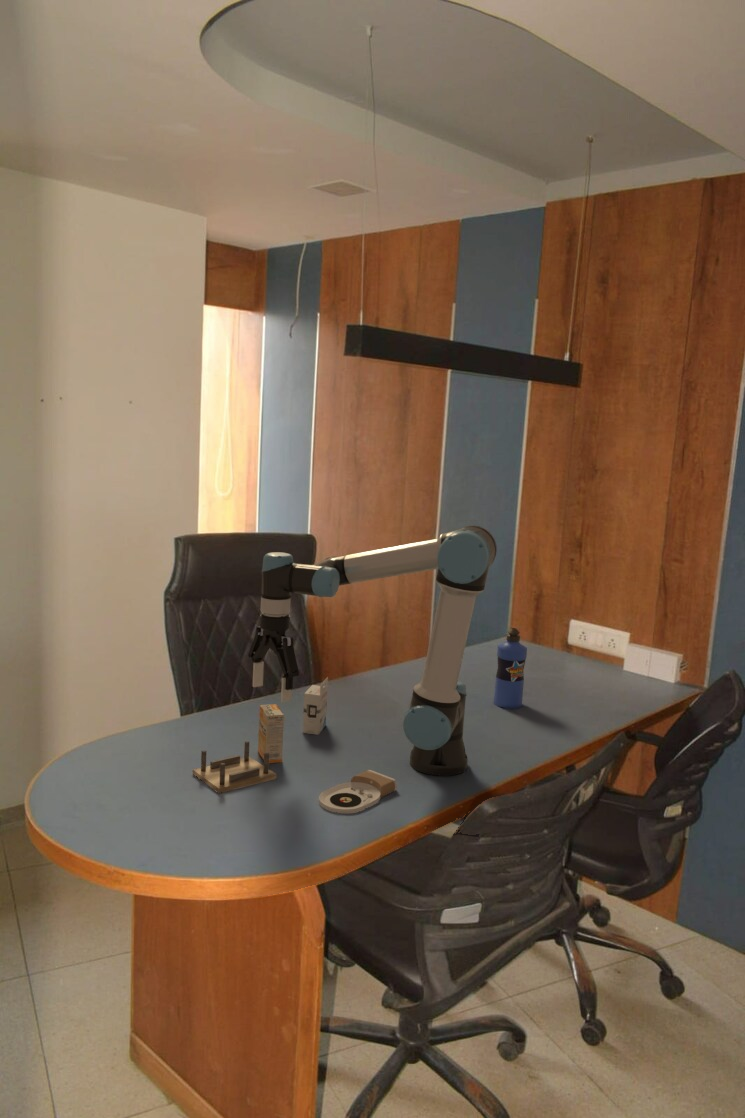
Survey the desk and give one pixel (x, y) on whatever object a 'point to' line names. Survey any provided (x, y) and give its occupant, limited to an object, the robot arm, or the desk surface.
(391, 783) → the record player
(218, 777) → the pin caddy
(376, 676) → the desk surface
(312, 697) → the ink box
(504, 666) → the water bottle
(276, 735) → the supplement box
